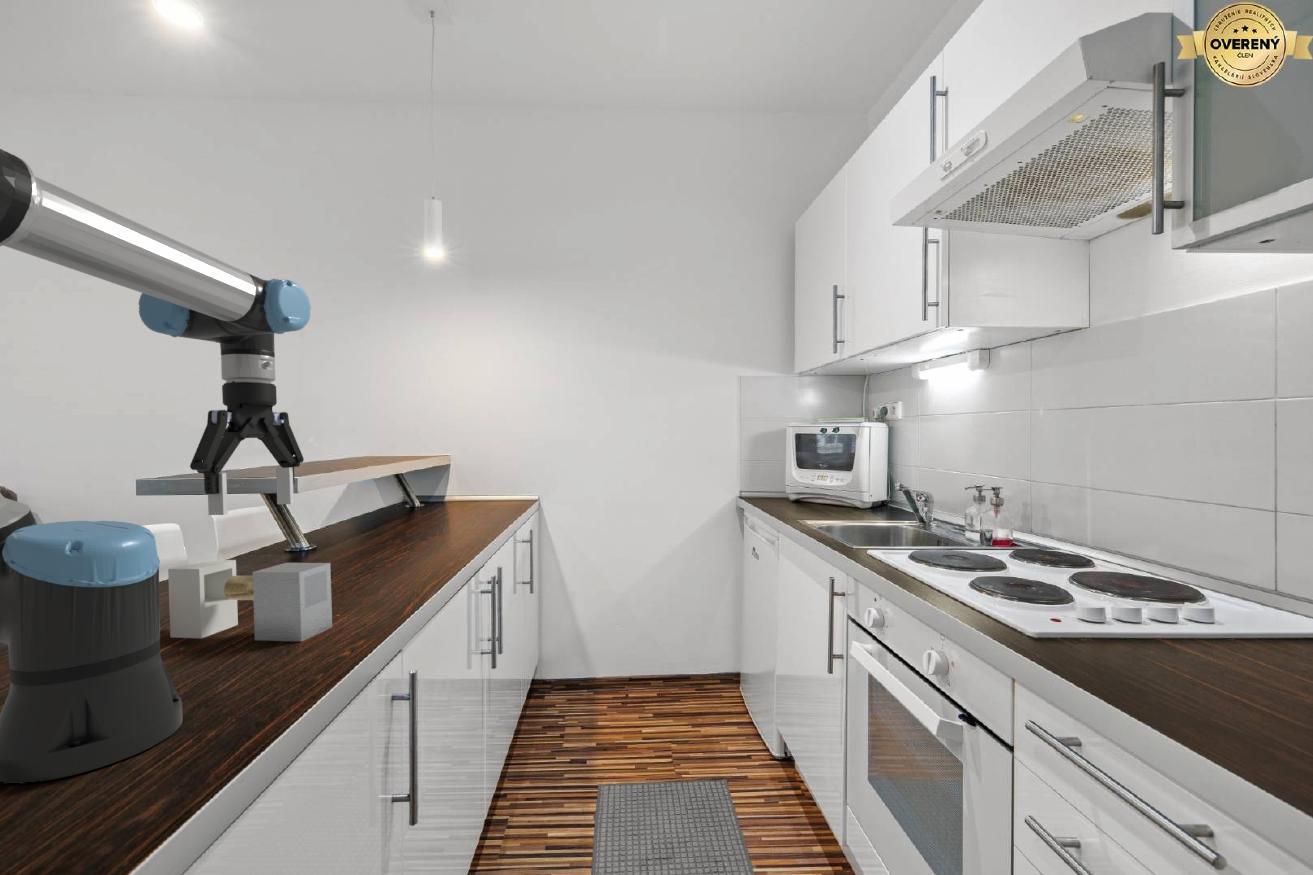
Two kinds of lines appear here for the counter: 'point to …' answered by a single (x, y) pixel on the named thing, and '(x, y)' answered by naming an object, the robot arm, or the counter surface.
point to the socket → (201, 599)
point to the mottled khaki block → (239, 588)
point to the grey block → (292, 601)
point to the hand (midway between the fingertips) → (254, 509)
